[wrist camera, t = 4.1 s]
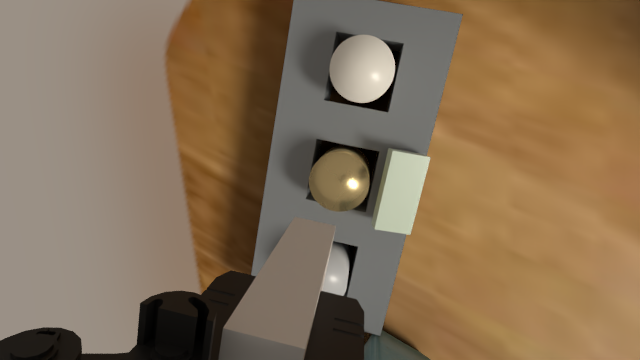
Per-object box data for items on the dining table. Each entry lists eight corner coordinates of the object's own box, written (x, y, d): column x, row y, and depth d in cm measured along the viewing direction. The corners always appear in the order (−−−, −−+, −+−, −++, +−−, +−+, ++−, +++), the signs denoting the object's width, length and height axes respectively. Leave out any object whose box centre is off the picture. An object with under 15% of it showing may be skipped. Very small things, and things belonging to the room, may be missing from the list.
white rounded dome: (307, 227, 32) (296, 248, 27) (355, 238, 32) (352, 262, 27) (299, 271, 33) (286, 299, 28) (345, 282, 33) (340, 313, 28)
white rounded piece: (342, 42, 29) (336, 29, 24) (396, 51, 28) (402, 40, 23) (331, 97, 30) (324, 96, 25) (384, 107, 29) (386, 108, 24)
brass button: (323, 140, 31) (314, 146, 26) (374, 150, 30) (375, 159, 25) (314, 189, 32) (304, 204, 27) (363, 200, 31) (362, 217, 26)
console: (305, 2, 30) (295, -13, 26) (450, 26, 29) (462, 14, 25) (260, 280, 36) (246, 302, 32) (379, 310, 35) (380, 335, 31)
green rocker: (386, 146, 27) (392, 150, 25) (421, 152, 27) (430, 157, 26) (369, 220, 28) (374, 229, 27) (402, 225, 29) (410, 234, 27)
